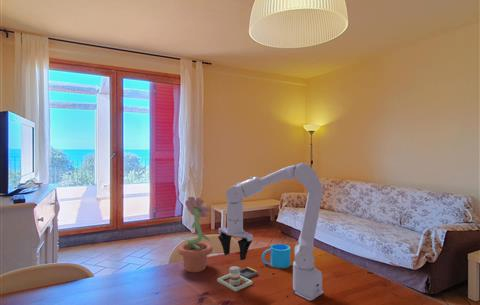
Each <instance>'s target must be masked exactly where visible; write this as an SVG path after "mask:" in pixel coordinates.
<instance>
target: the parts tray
mask: <svg viewBox="0 0 480 305" xmlns="http://www.w3.org/2000/svg"><path fill="white" fill-rule="evenodd" d="M229 275H230V273H227V274H225V275H223V276H220V277H217V279H216V280H217V282H218V283H219V284H221V285H223V286H225V287H226V288H228V289H230V290H232V291H233V292H238V291H240V290H242V289H244V288H247V287H249V286H252V285H253V280H251V279H250V278H249V279H247V278H245V277H243V276H241V275H240V281H242V282H243V281H244V283H243V284H239V285H236V286H235V285H231V284H230V283H229V282H227V281H225V280H226V279H230V278H229Z"/></svg>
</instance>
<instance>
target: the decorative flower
mask: <svg viewBox="0 0 480 305" xmlns="http://www.w3.org/2000/svg"><path fill="white" fill-rule="evenodd" d="M204 203H205V201H204V200H203V199H202V198H200V197H195V196H189V197H187V200H185V206H186V208H187V210H188V211H189V212H190V214H191V215H192V216H194V222H193V223H192V225H191V229H194V228H195V229H196V232H197V234H198V236H197V237H195V238H189V239H187V242H184V243H182V244H181V245H179V246H178V249H177V252H178V254H179V255H180V256H182V257H183V268H184V270H185V271H186V272H188V273H199V272H202V271H205V270H206V267H207V261H208V256H209V255H210V254H212V253H213V246H212V244H210V243H208V242H204V241H202V239H204V240H206V241H209V242H210V239H209V238H208V237H207V236H206V235H205V234H203V230H202V227H201V223H200V218H203V217H204V218H207V217H208V216H209V213H210V212H211V210H210V209H211V208H209V207H207V206H202V205H203V204H204ZM183 241H186V238H185V239H184V238H183Z"/></svg>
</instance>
